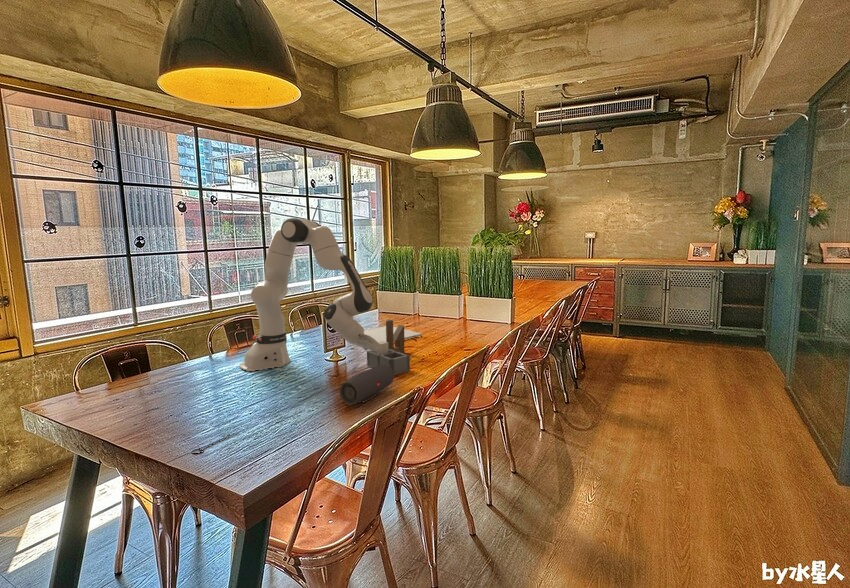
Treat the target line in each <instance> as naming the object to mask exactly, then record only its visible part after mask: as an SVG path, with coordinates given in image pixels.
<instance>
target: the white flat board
mask: <svg viewBox="0 0 850 588" xmlns="http://www.w3.org/2000/svg"><path fill="white" fill-rule="evenodd" d="M397 327H398V326H397ZM397 327H396V326H393V334H394V332H395V331H396V329H397ZM364 334H365V335H369V336H371V337H372V338H373V339H375V340H376V341H377V342H380V341H385V342H386V325H384V326H379V327H375V328H369V329H364ZM418 336H422V337H423V333H421V332H418V331H417V332H416V331H413V330H408V329H406V328H404V340H405V339H409V338H413V337H418Z"/></svg>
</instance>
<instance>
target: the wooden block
mask: <svg viewBox="0 0 850 588" xmlns="http://www.w3.org/2000/svg"><path fill="white" fill-rule="evenodd" d="M385 326H386V342H388V349H391V350H394V351H397V352H400V353H403V352H404V353H405V351H406V350H405V341H404V329H405V325H404V324H398V325H397V329H396V331H395V332H394V334H393V327H394V320H393V319H386V320H385ZM394 342H395V343H394ZM404 353H403V354H404Z"/></svg>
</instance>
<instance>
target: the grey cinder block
mask: <svg viewBox="0 0 850 588" xmlns="http://www.w3.org/2000/svg"><path fill="white" fill-rule="evenodd" d="M410 358H411V357H410V355H408V354H406V353H400V352H397V351H394V350H391V349H388V353H385V354H381V355H380V354H379V355H378V354H376V353H375V352H374V351H372V350H366V366H367V367H368V368H370V367H371V368H370V369H372V368H374V367H377V366H380V365H387V366H389V367H390V368H391V370H392V371H393V374H394V376H397V375H401V374H404V373H408V372H411V371H410V370H411V365H410V363H411V362H410V360H411V359H410Z"/></svg>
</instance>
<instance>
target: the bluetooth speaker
mask: <svg viewBox="0 0 850 588" xmlns="http://www.w3.org/2000/svg"><path fill="white" fill-rule="evenodd" d="M394 379H395V375H394V374H393V371H392V370H391V368H390V367H389V366H387V365H380V366H377V367H374V368H370V369H367V370H364V371H363V372H361V373H358V374H357V375H354V376H352V377H350V378H349V379H347V380H346V381H344V382H343V383H342V384H341V385H340V387H339V396H340V398H341V400H342V401H343V402H344V403H345V404H347V405H351V406H352V405H355V404H358V403H364V402H363V401H365V402H367V401H369V400H371V399H372V397H373V398H375V397H376V396H378V394H379V393H380V392H381V391H383V390H384V389H386V388H388V387H389V386H390V385H392V383H393V382H394ZM375 395H376V396H375ZM374 396H375V397H374ZM370 398H371V399H370ZM368 399H369V400H368ZM366 400H367V401H366ZM360 401H361V402H360Z"/></svg>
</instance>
